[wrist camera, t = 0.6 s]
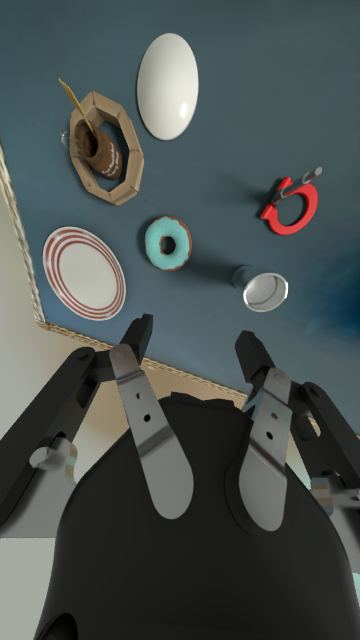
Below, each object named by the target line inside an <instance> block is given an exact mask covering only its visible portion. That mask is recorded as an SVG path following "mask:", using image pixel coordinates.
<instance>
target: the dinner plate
mask: <svg viewBox="0 0 360 640" xmlns="http://www.w3.org/2000/svg"><path fill="white" fill-rule="evenodd" d="M43 264H44V269H45V273H46V276H47V279H48V281H49V283H50V285H51V287H52V289H53V290H54V292H55V293H56V295H57V296H58V297H59V299H60V300H61V301H62V302H63V303H64V304H65V305H66V306H67V307H68V308H69V309H71V310H72V311H73V312H75V313H76V314H78V315H80V316H82V317H84V318H87V319H91V320H97V321H101V320H107V319H110V318H112V317H113V316H115V315H116V314H117V313H118V312H119V311H120V309H121V308H122V306H123V303H124V300H125V293H126V287H125V280H124V276H123V272H122V270H121V267H120V265H119V263H118V261H117V259H116V257H115V256H114V254H113V253H112V251H111V250H110V249H109V248H108V246H107V245H106V244H105V243H104V242H103V241H102V240H100V239H99V238H98V237H97V236H95V235H94V234H92V233H90V232H88V231H86V230H84V229H81V228H77V227H62V228H59V229H57V230H55V231H54V232H53V233H52V234H51V235H50V236H49V237H48V239H47V241H46V243H45V246H44V250H43Z"/></svg>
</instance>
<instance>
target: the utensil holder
mask: <svg viewBox="0 0 360 640" xmlns="http://www.w3.org/2000/svg"><path fill="white" fill-rule="evenodd" d="M59 81H60V83H61V84H62V86H63V88H64V89H65V91H66V93H67V94H68V96H69V98H70V99H71V101H72V103H73V104H74V106H75V107H76V109H77V110H78V111H79V112H80V113H81V115H82V116H83V118H84V119H81V120H79V121H78V122H77V124H76V126H75V131H74V134H73V135H74V138H75V139H74V140H75V144H76V147H77V149H78V151H79V153H80V156H82V157H83V158H84V159H85V160H86V161H87V162H88V163H89V164H90V165H91V166H92V167H93V168H94V169H95V170H96V171H98V172H99V173H100V174H102V175H103V176H105V177H106V178H108V179H111V180H115V179H117V178H119V177H120V175H121V173H122V170H123V159H122V156H121V153H120V151H119V149H118V148H117V146H116V145H115V144H114V142H113V141H112V140H111V139H110V138H109V137H108V136H107V135H106V133H105V132H104V131H102V130H101V129H100V128H98V127H97V126H96V125H95V124H93V123H92V122H91V121H89V120H87V118H86V117H85V115H84V114H85V112H84V111H83V109H82V107H81V106H80V104H79V102H78V101H77V99H76V98H75V96H74V94H73V93H72V91H71V90H70V88H69V87H68V86H66V85H65V83H64V82H63V83H62V81H61V80H60V79H59ZM62 132H63V131H62ZM62 132H61V137H62ZM64 132H65V131H64ZM65 133H67V132H65ZM65 133H64V134H65ZM69 133H70V132H69ZM64 134H63V136H64ZM71 134H72V133H71ZM71 134H70V135H71ZM73 135H72V136H73ZM64 139H65V138H62V140H63V141H65V140H64ZM72 139H73V138H72ZM62 140H61V142H62ZM64 143H65V142H64ZM64 143H62V144H63V145H64ZM67 143H68V142H67ZM73 143H74V142H73ZM70 145H71V144H70ZM65 146H67V145H65ZM65 146H64V147H65ZM67 147H68V146H67ZM73 147H74V146H73ZM76 147H75V148H76ZM69 148H70V147H69ZM71 149H72V148H71ZM74 150H75V149H74ZM69 152H70V151H69ZM71 153H72V152H71ZM73 154H74V152H73ZM75 155H76V153H75Z"/></svg>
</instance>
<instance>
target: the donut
mask: <svg viewBox="0 0 360 640" xmlns="http://www.w3.org/2000/svg"><path fill="white" fill-rule="evenodd" d="M167 236H169V237H172V238H173V239H174V241H175V243H176V247H175V250H174V252H173V253H172V254H170V255H167V254H165V253H163V251H162V249H161V241H162V239H163V238H164V237H167ZM145 250H146V254H147V256H148V258H149V259H150V261H151V262H152V263H153V265H154V266H156V267H157V268H159V269H161V270H165V271H174V270H177V269H179V268H181V267H182V266H183V265H184V264H185V263H186V262H187V260H188V259H189V257H190V254H191V250H192V239H191V235H190V232H189V230H188V228H187V227H186V225H185V224H184V223H183V222H182V221H181V220H179V219H177V218H176V217H172V216H163V217H159V218H158V219H156V220H155V221H153V222H152V223H151V225H150V226H149V227H148V230H147V232H146V234H145Z"/></svg>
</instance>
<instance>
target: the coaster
mask: <svg viewBox="0 0 360 640" xmlns="http://www.w3.org/2000/svg"><path fill="white" fill-rule="evenodd" d="M137 98H138V105H139V110H140V113H141V116H142V119H143V121H144V123H145V125H146V127H147V129H148V130H149V132H150V133H151V134H152V135H153V136H154V137H156V138H157V139H159V140H162V141H170V140H173V139H176V138H177V137H179V136H180V135H181V134H182V133H183V132H184V131H185V130H186V128H187V127H188V125H189V123H190V121H191V119H192V117H193V114H194V111H195V108H196V104H197V98H198V72H197V66H196V62H195V58H194V55H193V53H192V50H191V49H190V47H189V45H188V44H187V42H186V41H185V40H184V39H183V38H181V37H180V36H178V35H176V34H172V33H168V34H164V35H161V36H160V37H158V38H157V39H155V40H154V41H153V42H152V44H151V45H150V46H149V48H148V49H147V51H146V53H145V55H144V57H143V60H142V62H141V66H140V70H139V75H138V83H137Z"/></svg>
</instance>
